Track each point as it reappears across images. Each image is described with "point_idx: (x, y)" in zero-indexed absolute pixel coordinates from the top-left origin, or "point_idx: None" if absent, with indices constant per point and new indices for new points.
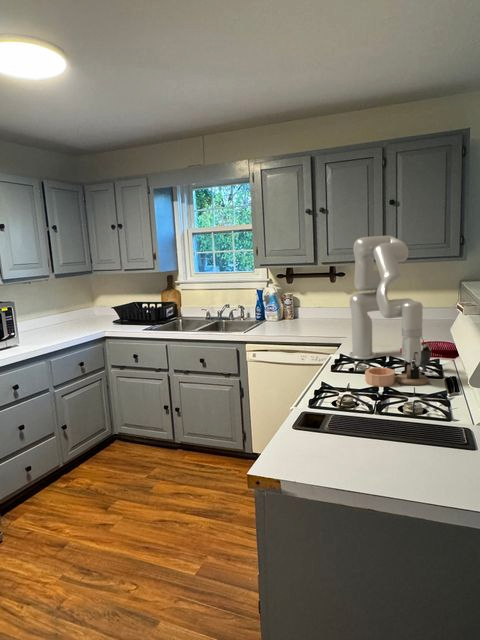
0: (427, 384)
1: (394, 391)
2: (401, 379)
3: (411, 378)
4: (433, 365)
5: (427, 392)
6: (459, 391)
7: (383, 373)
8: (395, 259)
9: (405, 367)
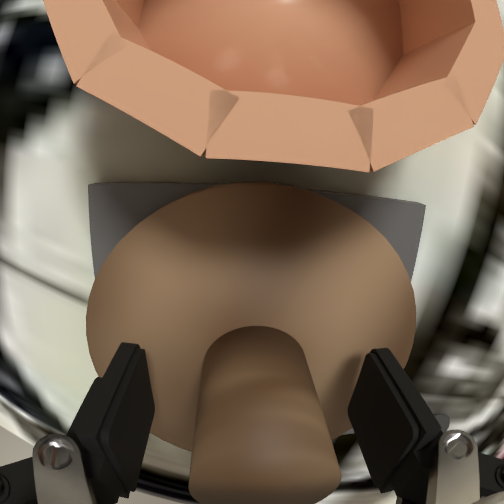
0: None
1: (25, 104)
2: (214, 245)
3: (123, 349)
4: None
5: (19, 345)
6: None
7: (416, 67)
8: None
9: (394, 400)
